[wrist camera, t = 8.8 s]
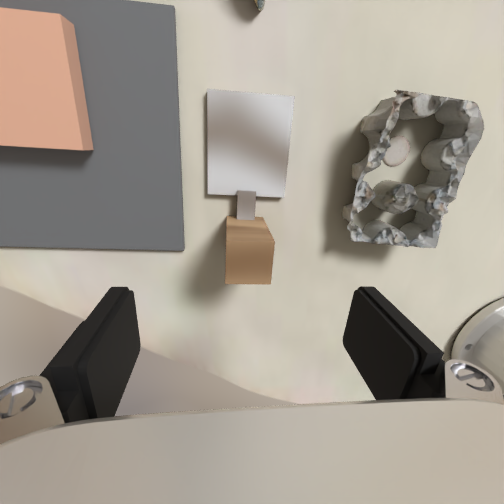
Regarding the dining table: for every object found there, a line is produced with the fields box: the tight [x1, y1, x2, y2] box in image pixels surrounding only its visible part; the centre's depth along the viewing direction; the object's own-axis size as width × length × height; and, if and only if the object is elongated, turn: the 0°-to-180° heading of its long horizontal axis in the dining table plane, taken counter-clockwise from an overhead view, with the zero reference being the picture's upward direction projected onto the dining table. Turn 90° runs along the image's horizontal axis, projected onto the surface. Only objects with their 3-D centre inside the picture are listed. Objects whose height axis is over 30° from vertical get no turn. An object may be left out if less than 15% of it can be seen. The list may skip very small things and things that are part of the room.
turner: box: [207, 89, 295, 284], centre depth 18 cm, size 12×6×6 cm, turn 177°
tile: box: [0, 7, 94, 150], centre depth 16 cm, size 2×7×9 cm
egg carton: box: [342, 90, 484, 248], centre depth 20 cm, size 11×8×4 cm
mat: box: [0, 0, 185, 251], centre depth 18 cm, size 16×16×1 cm
